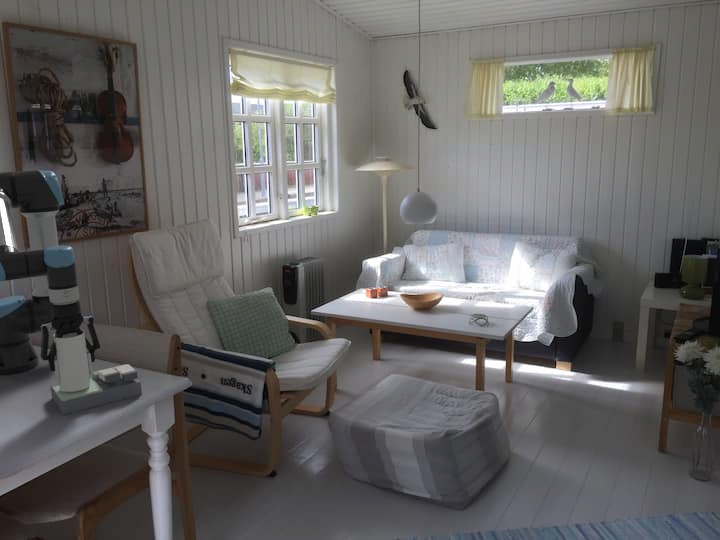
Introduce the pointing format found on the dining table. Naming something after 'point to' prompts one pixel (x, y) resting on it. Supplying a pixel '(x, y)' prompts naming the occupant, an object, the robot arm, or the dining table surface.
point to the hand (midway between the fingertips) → (74, 376)
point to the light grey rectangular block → (109, 375)
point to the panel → (98, 391)
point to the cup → (72, 362)
